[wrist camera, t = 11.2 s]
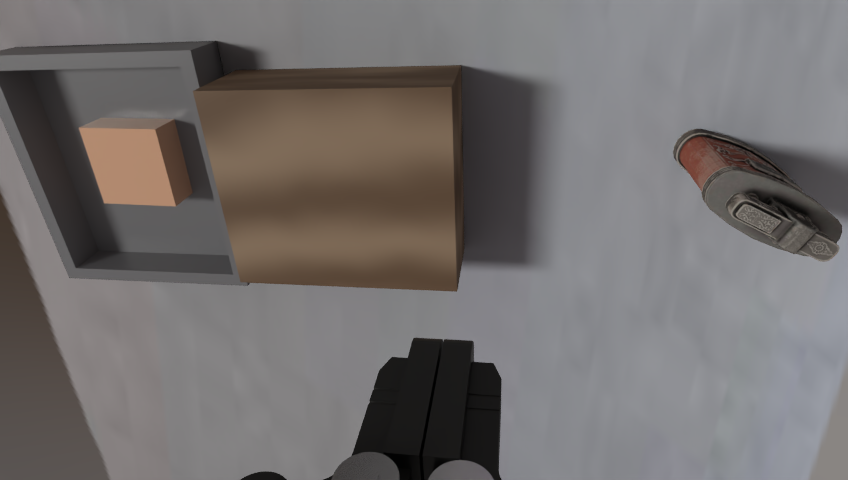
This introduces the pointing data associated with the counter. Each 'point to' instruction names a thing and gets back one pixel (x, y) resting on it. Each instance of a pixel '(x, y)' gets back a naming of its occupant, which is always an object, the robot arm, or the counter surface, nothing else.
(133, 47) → the tray
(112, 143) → the tile
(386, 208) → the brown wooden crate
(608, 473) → the counter surface
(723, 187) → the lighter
